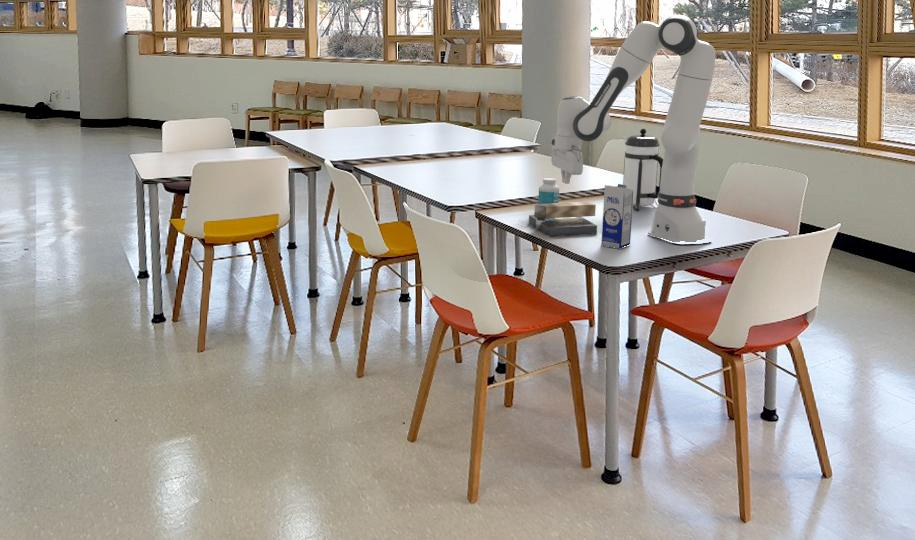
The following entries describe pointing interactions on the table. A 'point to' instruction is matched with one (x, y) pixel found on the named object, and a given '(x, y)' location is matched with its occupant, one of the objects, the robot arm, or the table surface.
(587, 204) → the tan bar
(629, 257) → the table surface
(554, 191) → the pill bottle
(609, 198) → the milk carton
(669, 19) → the robot arm
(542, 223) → the panel
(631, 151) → the coffee press
